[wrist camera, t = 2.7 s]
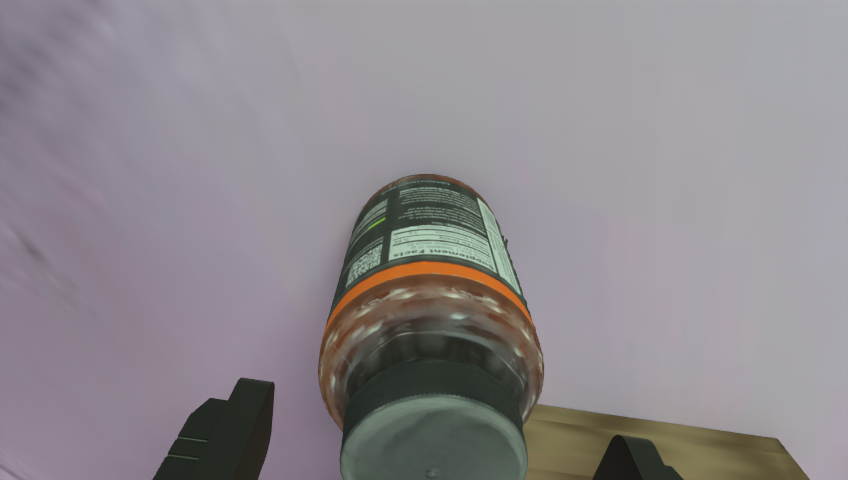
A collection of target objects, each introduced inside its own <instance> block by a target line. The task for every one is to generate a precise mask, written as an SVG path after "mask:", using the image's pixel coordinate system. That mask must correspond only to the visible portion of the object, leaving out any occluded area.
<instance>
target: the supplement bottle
mask: <svg viewBox="0 0 848 480" xmlns="http://www.w3.org/2000/svg"><path fill="white" fill-rule="evenodd" d="M507 241H508V240H507V239H506V243H505V241H504V236H503V235H501V230H500V226H499V224H498V222H497V220H496V219H495V217H494V215H493V212H492V210H491V209H490V208H489V206H488V204H487V203H486V202H485V201H484V199H483V198H482V197H481V196H480V195H479V194H478V193H476V191H474V190H473V189H472V188H470V187H469V186H468V185H466V184H464V183H462V182H460V181H458V180H455V179H452V178H449V177H446V176H441V175H435V174H419V175H411V176H407V177H403V178H400V179H398V180H397V181H394V182H392V183H390V184H388V185H387V186H385V187H383V188H382V189H381V190H379V191H378V192H377V193H376V194H374V195H373V196H372V197H371V198H370V200H369V201H368V202H367V204H366V205H365V206H364V207H363V209H362V211H361V213H360V215H359V217H358V219H357V221H356V223H355V226H354V229H353V232H352V236H351V239H350V243H349V246H348V250H347V253H346V257H345V259H344V265H343V268H342V271H341V275H340V278H339V282H338V285H337V289H336V293H335V296H334V300H333V303H332V306H331V311H330V314H329V317H328V320H327V325H326V329H325V332H324V336H323V339H322V344H321V349H320V357H319V365H318V377H319V385H320V390H321V393H322V398H323V400H324V403H325V406H326V409H327V410H328V412H329V414H330V415H331V417H332V418H333V420H334V421H335V422H336V424H337V425H338V426H339V428H340V429H341V430H342V431H343V438H342V446H341V452H340V471H341V475H342V478H343V480H524V479H525V477H526V473H527V467H528V453H527V446H526V441H525V437H524V433H523V425H524V424H525V423H526V422H527V421H528V419H529V416H530V415H531V413H532V411H533V409H534V408H535V406H536V404H537V402H538V399H539V397H540V394H541V392H542V385H543V380H544V363H543V354H542V351H541V347H540V343H539V340H538V337H537V334H536V329H535V326H534V324H533V322H532V319H531V315H530V312H529V310H528V308H527V302H526V300H525V299H524V297H523V293H522V289H521V287H520V283H519V280H518V278H517V274H516V271H515V269H514V267H513V265H512V260H511V259H510V255H509V253H508V251H507Z"/></svg>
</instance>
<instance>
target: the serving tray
mask: <svg viewBox="0 0 848 480" xmlns="http://www.w3.org/2000/svg"><path fill="white" fill-rule="evenodd" d="M523 433H524V437H525V441H526V446H527V453H528V467H527V473H526V477H525V479H524V480H593V477H594V474H595V472H596V470H597V468H598V466H599V464H600V462H601V460H602V458H603V456H604V454H605V452H606V450H607V448H608V445H609V443H610V441H611V439H612V438H613V437H614V436H615V435H624V436H631V437H637V438H644V439H649V440H650V441H652V442H653V444H654V445H655V447H656V449H657V451H658V453H659V455H660V457H661V459H662V461H663V463H664V465H667V466H672V467H673V468H674V469H675V470H676V472H677V473H678V474H679V475H680V476H681V477H682V478H683V479H684V480H810V479H809V478H808V477H807V475H806V474H805V473H804V472H803V470H802V469H801V468H800V467H799V465H798V464H797V463H796V462H795V460H794V459H793V458H792V457H791V455H790V454H789V453H788V451H787V450H786V449H785V448H784V446H783V445H782V444H781V443H780V441H779V440H778V439H775V438H768V437H761V436H754V435H747V434H740V433H733V432H726V431H719V430H712V429H705V428H698V427H691V426H684V425H677V424H670V423H663V422H656V421H649V420H642V419H635V418H628V417H621V416H614V415H607V414H600V413H593V412H586V411H579V410H572V409H565V408H558V407H551V406H544V405H537V404H536V406H535V408H534V409H533V411H532V413H531V415H530V416H529V419H528V421H527V422H526V423H525V424H524V425H523Z"/></svg>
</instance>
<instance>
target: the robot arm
mask: <svg viewBox="0 0 848 480" xmlns="http://www.w3.org/2000/svg"><path fill="white" fill-rule="evenodd" d="M274 389H275V385H274V382H268V381H262V380H255V379H248V378H240V379H239V380H238V382H237V384H236V386H235V388H234V390H233V392H232V394H231V396H230V398H229V400H228V401H227V400H221V399H214V398H210V399H208V400H207V401H206V402H205V403H204V404H202V405H201V406H200V407H199V408H197V409H196V410H195V411H194V412H193V413H191V414H190V416H189V417H188V419H187V421H186V423H185V424H184V426H183V428H182V430H181V431H180V433H179V435H178V438H177V440H175V442H174V443H173V445H172V447H171V449H170V450H169V452H168V456H167V457H165V459H164V461H163V462H162V464H161V466H160V468H159V469H158V471H157V473H156V475H155V476H154V478H153V480H258V477H259V474H260V472H261V469H262V466H263V463H264V460H265V457H266V454H267V450H268V446H269V442H270V437H271V429H272V416H273V403H274ZM593 480H684V479H683V478H682V477H681V476H680V475H679V474H678V473H677V472H676V470H675V469H674V468H673V467H672V466H667V465H664V463H663V461H662V459H661V457H660V455H659V453H658V451H657V449H656V447H655V445H654V444H653V442H652V441H650V440H649V439H644V438H637V437H631V436H624V435H615V436H614V437H613V438H612V439H611V441H610V443H609V445H608V448H607V450H606V452H605V454H604V456H603V458H602V460H601V462H600V464H599V466H598V468H597V470H596V472H595V474H594V477H593Z"/></svg>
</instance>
